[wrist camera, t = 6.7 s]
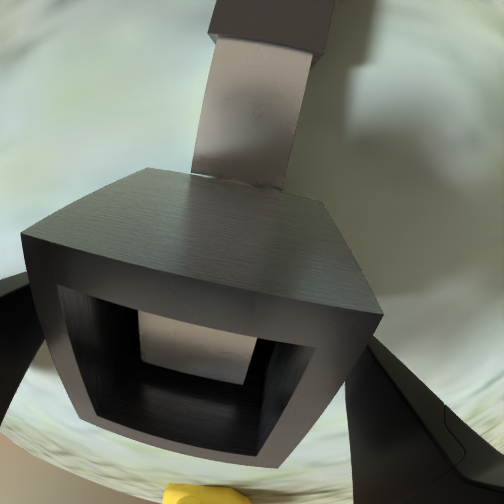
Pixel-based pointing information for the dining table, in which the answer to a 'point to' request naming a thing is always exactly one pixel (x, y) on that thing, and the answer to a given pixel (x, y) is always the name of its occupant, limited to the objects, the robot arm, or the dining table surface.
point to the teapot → (202, 495)
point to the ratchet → (243, 146)
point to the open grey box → (200, 310)
